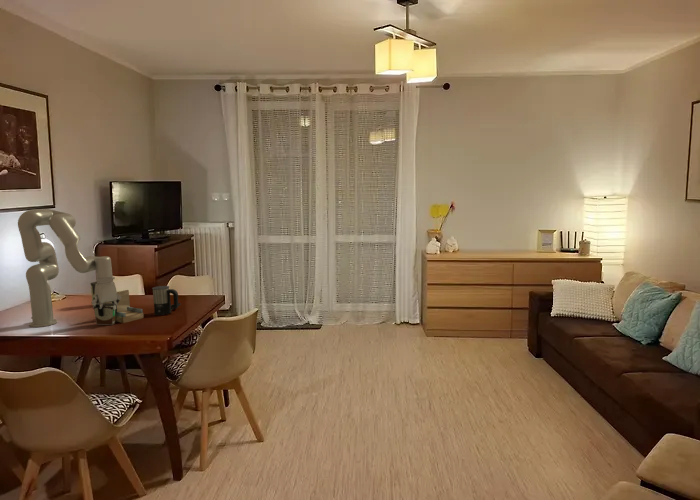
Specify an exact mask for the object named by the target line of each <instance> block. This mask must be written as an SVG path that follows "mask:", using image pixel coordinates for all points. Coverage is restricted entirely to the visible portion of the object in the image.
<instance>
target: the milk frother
mask: <svg viewBox="0 0 700 500" xmlns="http://www.w3.org/2000/svg"><path fill="white" fill-rule="evenodd" d="M151 289H152V297H153V311H154V312H153V314H154V315H155V316H156V315H157V316H161V315H162V316H163V315H168V314H169V315H170V314H171V313H172V310H174V309H175V310H176V309H178V308H179V307H180V306H181V305H182V304H181V303H180V302H179V292H178V291H177V290H176V289H173V288H170V286H169V285H157V286H154V287H152V288H151ZM171 294H172V296H173V303H171V302H172V301H171V300H172V299H171Z"/></svg>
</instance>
